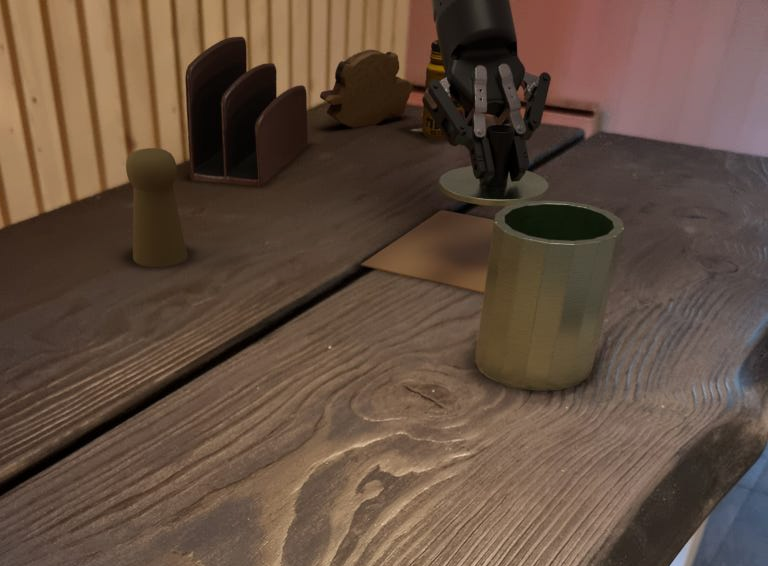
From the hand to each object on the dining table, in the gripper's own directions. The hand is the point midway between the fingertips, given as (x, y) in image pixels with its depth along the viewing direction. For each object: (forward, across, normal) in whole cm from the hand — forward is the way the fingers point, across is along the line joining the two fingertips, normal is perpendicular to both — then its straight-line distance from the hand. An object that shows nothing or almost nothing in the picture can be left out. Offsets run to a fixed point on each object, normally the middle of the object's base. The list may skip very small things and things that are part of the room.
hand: (503, 178), depth 94 cm
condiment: (-28, +13, +40) cm, 51 cm away
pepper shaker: (-1, -34, +14) cm, 37 cm away
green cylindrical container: (+23, -6, -10) cm, 26 cm away
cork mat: (+5, 0, +7) cm, 9 cm away
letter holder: (-23, -17, +36) cm, 46 cm away
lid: (0, 0, +2) cm, 3 cm away
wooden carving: (-33, +4, +46) cm, 57 cm away
